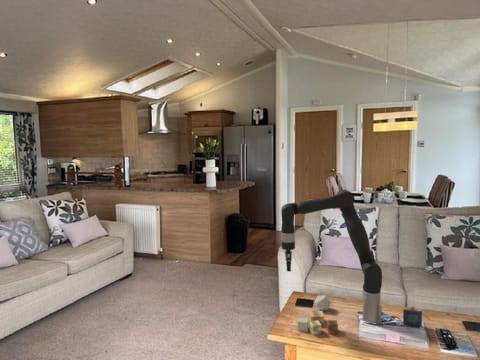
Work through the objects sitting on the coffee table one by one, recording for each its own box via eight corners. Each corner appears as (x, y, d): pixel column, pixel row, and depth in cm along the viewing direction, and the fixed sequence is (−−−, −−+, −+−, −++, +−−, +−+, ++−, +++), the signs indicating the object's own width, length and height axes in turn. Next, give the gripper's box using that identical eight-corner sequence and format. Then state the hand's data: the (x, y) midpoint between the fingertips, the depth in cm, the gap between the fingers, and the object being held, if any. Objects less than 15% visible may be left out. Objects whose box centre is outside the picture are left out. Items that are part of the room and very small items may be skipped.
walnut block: (336, 329, 193) (336, 320, 193) (338, 334, 188) (338, 325, 188) (326, 329, 194) (326, 320, 193) (328, 334, 189) (328, 324, 188)
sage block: (308, 327, 196) (308, 318, 196) (307, 331, 191) (307, 322, 191) (299, 326, 198) (298, 317, 197) (297, 330, 193) (297, 321, 192)
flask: (421, 325, 195) (421, 306, 194) (422, 328, 192) (422, 308, 191) (402, 323, 197) (402, 304, 196) (403, 326, 194) (403, 306, 193)
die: (327, 315, 211) (334, 299, 213) (313, 307, 212) (321, 291, 214) (324, 314, 219) (331, 298, 221) (310, 306, 220) (318, 291, 222)
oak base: (322, 319, 205) (322, 310, 204) (324, 325, 198) (324, 316, 197) (309, 319, 205) (309, 310, 205) (311, 325, 198) (310, 316, 198)
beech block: (318, 329, 194) (317, 320, 193) (321, 334, 189) (321, 324, 188) (309, 330, 193) (308, 321, 192) (312, 335, 188) (312, 325, 188)
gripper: (295, 243, 194) (295, 273, 196) (294, 237, 209) (294, 264, 210) (281, 243, 195) (281, 273, 197) (281, 237, 209) (281, 264, 211)
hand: (288, 268), depth 203 cm, fingers open, 8 cm apart
